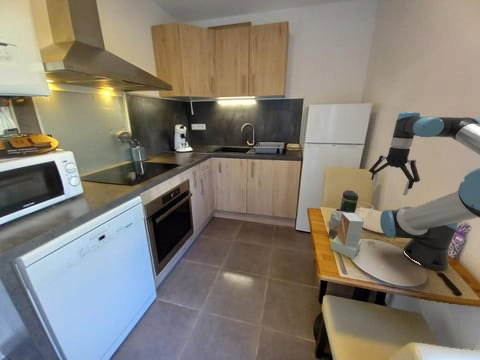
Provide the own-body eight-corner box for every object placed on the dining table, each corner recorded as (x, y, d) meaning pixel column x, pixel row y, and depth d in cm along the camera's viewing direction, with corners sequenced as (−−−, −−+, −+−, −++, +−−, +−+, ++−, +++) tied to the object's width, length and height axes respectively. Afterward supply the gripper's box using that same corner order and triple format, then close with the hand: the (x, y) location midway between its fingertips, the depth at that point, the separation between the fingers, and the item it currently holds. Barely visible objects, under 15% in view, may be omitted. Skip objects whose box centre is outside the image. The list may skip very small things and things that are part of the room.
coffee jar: (354, 224, 118) (360, 195, 112) (339, 222, 120) (345, 193, 115) (351, 217, 127) (357, 190, 121) (337, 215, 129) (342, 188, 123)
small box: (336, 235, 98) (341, 212, 94) (350, 236, 98) (355, 212, 94) (344, 246, 90) (349, 220, 87) (358, 246, 90) (364, 221, 86)
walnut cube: (341, 236, 106) (342, 228, 104) (337, 240, 102) (339, 232, 101) (331, 233, 109) (333, 225, 107) (327, 236, 106) (329, 228, 104)
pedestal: (359, 250, 96) (361, 241, 94) (352, 260, 89) (355, 250, 88) (337, 241, 103) (339, 232, 101) (330, 249, 96) (332, 240, 94)
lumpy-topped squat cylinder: (346, 223, 119) (349, 210, 117) (352, 235, 107) (356, 221, 105) (328, 220, 122) (330, 208, 119) (332, 232, 110) (334, 218, 107)
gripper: (438, 150, 84) (423, 197, 90) (374, 143, 103) (365, 182, 110) (433, 152, 80) (417, 200, 86) (367, 144, 99) (358, 184, 106)
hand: (388, 190), depth 98 cm, fingers open, 13 cm apart
